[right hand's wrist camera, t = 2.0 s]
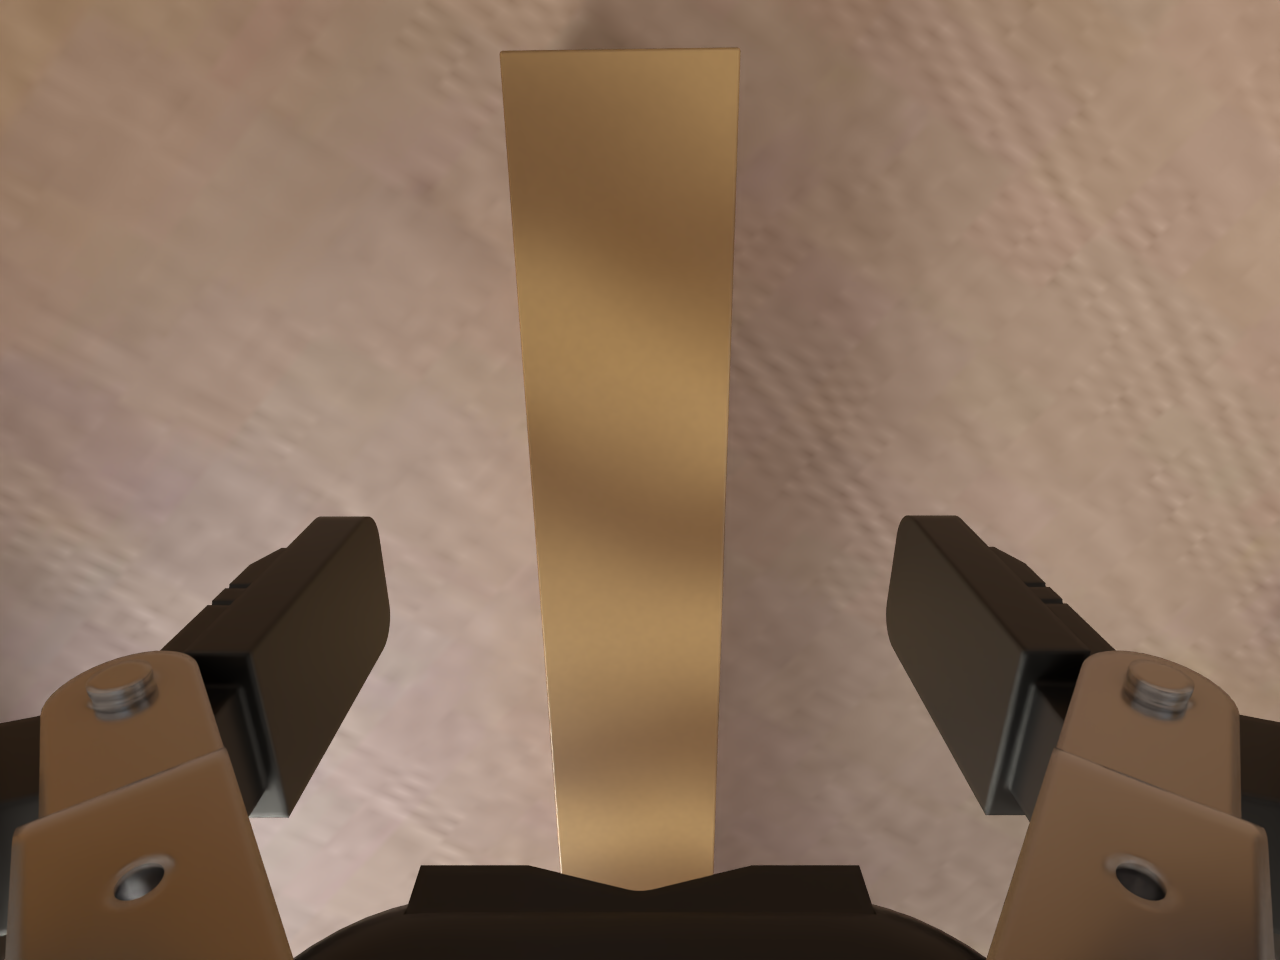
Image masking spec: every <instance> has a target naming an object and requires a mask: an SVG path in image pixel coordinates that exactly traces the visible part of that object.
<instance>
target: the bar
mask: <svg viewBox="0 0 1280 960" xmlns="http://www.w3.org/2000/svg"><path fill="white" fill-rule="evenodd" d="M500 65H501V78H502V92H503V105H504V119H505V132H506V146H507V159H508V173H509V186H510V199H511V213H512V226H513V240H514V253H515V267H516V280H517V294H518V307H519V320H520V334H521V347H522V361H523V374H524V388H525V401H526V415H527V428H528V442H529V455H530V468H531V482H532V495H533V509H534V522H535V536H536V549H537V563H538V576H539V589H540V603H541V616H542V630H543V643H544V657H545V670H546V684H547V697H548V710H549V724H550V737H551V751H552V764H553V778H554V791H555V805H556V818H557V831H558V845H559V858H560V872H561V873H562V874H566V875H570V876H574V877H578V878H583V879H587V880H591V881H595V882H599V883H603V884H607V885H612V886H616V887H620V888H624V889H628V890H634V891H646V890H652V889H656V888H660V887H664V886H668V885H673V884H677V883H681V882H685V881H689V880H693V879H697V878H702V877H706V876H710V875H713V870H714V840H715V809H716V779H717V748H718V718H719V688H720V657H721V627H722V596H723V566H724V536H725V505H726V475H727V444H728V414H729V384H730V353H731V323H732V292H733V262H734V232H735V201H736V171H737V140H738V110H739V80H740V48H738V47H736V48H668V49H599V50H531V51H501V52H500Z"/></svg>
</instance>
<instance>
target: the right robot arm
mask: <svg viewBox="0 0 1280 960" xmlns="http://www.w3.org/2000/svg"><path fill="white" fill-rule="evenodd" d="M229 585H230V586H229V588H225V589H224V590H223V591H222V592H221V593H220V594H219V595H218V596H217V597H216V598H215V599H214V600H213V601H212V605H207V606H206V607H205V608H204V609H203V610H202V611H201V612H200V613H199V614H198V615H197V616H196V617H195V618H194V619H193V620H192V621H191V622H189V623H188V624H187V625H186V626H185V627H184V628H183V629H182V630H181V631H180V632H179V633H178V634H177V635H176V636H175V637H174V638H173V639H172V640H171V641H170V642H168V643H167V644H166V645H165V646H164V647H163V648H162V649H161V650H160V651H150V652H142V653H137V654H132V655H128V656H124V657H121V658H117V659H114V660H111V661H108V662H105V663H103V664H101V665H98V666H96V667H93V668H91V669H89V670H87V671H85V672H83V673H81V674H80V675H78V676H76V677H75V678H73V679H71V680H70V681H68V682H67V683H65V684H64V685H63V686H61V687H60V688H59V689H58V690H57V691H55V692H54V693H53V694H52V695H51V696H50V698H49V699H48V700H47V701H46V703H45V704H44V706H43V708H42V711H41V716H37V717H32V718H26V719H21V720H16V721H11V722H5V723H0V960H1280V722H1275V721H1269V720H1264V719H1259V718H1254V717H1249V716H1243V715H1239V711H1238V708H1237V706H1236V704H1235V703H1234V701H1233V700H1232V699H1231V698H1230V696H1229V695H1228V694H1227V693H1226V692H1225V691H1223V690H1222V689H1221V688H1220V687H1219V686H1217V685H1216V684H1215V683H1213V682H1212V681H1210V680H1209V679H1207V678H1205V677H1204V676H1202V675H1200V674H1199V673H1197V672H1195V671H1193V670H1191V669H1189V668H1187V667H1184V666H1182V665H1179V664H1177V663H1175V662H1172V661H1169V660H1166V659H1163V658H1159V657H1156V656H1152V655H1148V654H1143V653H1138V652H1130V651H1116V650H1115V649H1113V648H1112V647H1111V646H1110V645H1109V644H1108V643H1107V642H1106V641H1105V640H1104V639H1103V638H1102V637H1101V636H1100V635H1099V634H1098V633H1097V632H1096V631H1095V630H1094V629H1093V628H1092V627H1091V626H1090V625H1089V624H1088V623H1086V622H1085V621H1084V620H1083V619H1082V618H1081V617H1080V616H1079V615H1078V614H1077V613H1076V612H1075V611H1074V610H1073V609H1072V608H1071V607H1070V606H1069V605H1068V604H1063V602H1062V598H1060V597H1059V596H1058V595H1057V594H1056V593H1055V592H1054V591H1053V590H1052V589H1051V588H1050V587H1046V586H1045V582H1044V581H1043V580H1042V579H1041V578H1040V577H1039V576H1038V575H1037V574H1036V573H1035V572H1033V571H1032V570H1031V569H1030V568H1029V567H1028V566H1027V565H1026V564H1025V563H1023V562H1021V561H1019V560H1018V559H1016V558H1014V557H1012V556H1010V555H1008V554H1006V553H1004V552H1003V551H1001V550H999V549H997V548H995V547H988V546H987V545H986V544H985V543H984V542H983V541H982V540H981V539H980V538H979V537H978V536H977V535H976V534H975V533H974V531H973V530H972V529H971V528H970V527H969V526H968V525H967V524H966V523H965V522H964V521H963V520H962V519H961V518H959V517H958V516H905V517H904V518H903V519H902V520H901V522H900V525H899V528H898V532H897V538H896V545H895V552H894V559H893V565H892V572H891V579H890V586H889V593H888V600H887V608H886V622H887V630H888V635H889V639H890V642H891V645H892V647H893V649H894V651H895V653H896V654H897V656H898V658H899V660H900V662H901V663H902V665H903V667H904V669H905V671H906V672H907V674H908V676H909V678H910V680H911V681H912V683H913V685H914V687H915V689H916V690H917V692H918V694H919V696H920V698H921V699H922V701H923V703H924V705H925V707H926V708H927V710H928V712H929V714H930V716H931V717H932V719H933V721H934V723H935V725H936V726H937V728H938V730H939V732H940V734H941V735H942V737H943V739H944V741H945V743H946V744H947V746H948V748H949V750H950V752H951V753H952V755H953V757H954V759H955V761H956V762H957V764H958V766H959V768H960V770H961V771H962V773H963V775H964V777H965V779H966V780H967V782H968V784H969V786H970V788H971V789H972V791H973V793H974V795H975V797H976V798H977V800H978V802H979V804H980V806H981V807H982V809H983V811H984V813H985V815H1026V817H1027V818H1028V820H1029V822H1030V824H1029V827H1028V830H1027V833H1026V836H1025V839H1024V843H1023V846H1022V849H1021V852H1020V855H1019V858H1018V861H1017V865H1016V868H1015V871H1014V874H1013V877H1012V880H1011V883H1010V887H1009V890H1008V893H1007V896H1006V899H1005V902H1004V905H1003V909H1002V912H1001V915H1000V918H999V921H998V924H997V928H996V931H995V934H994V937H993V940H992V943H991V946H990V950H989V953H988V956H987V958H985V957H984V956H982V955H981V954H979V953H978V952H977V951H975V950H974V949H972V948H971V947H969V946H968V945H966V944H964V943H963V942H961V941H959V940H957V939H956V938H954V937H952V936H950V935H949V934H947V933H945V932H943V931H942V930H940V929H938V928H935V927H933V926H931V925H929V924H927V923H924V922H922V921H920V920H918V919H916V918H914V917H911V916H908V915H905V914H902V913H899V912H896V911H894V910H891V909H888V908H884V907H880V906H877V905H873V904H872V903H871V900H870V897H869V894H868V891H867V888H866V885H865V882H864V879H863V876H862V873H861V870H860V867H859V865H751V866H747V867H743V868H739V869H735V870H731V871H726V872H722V873H718V874H714V875H710V876H706V877H702V878H697V879H693V880H689V881H685V882H681V883H677V884H673V885H668V886H664V887H660V888H656V889H652V890H646V891H634V890H628V889H624V888H620V887H616V886H612V885H607V884H603V883H599V882H595V881H591V880H587V879H583V878H578V877H574V876H570V875H566V874H562V873H558V872H554V871H549V870H545V869H541V868H537V867H533V866H529V865H421V867H420V870H419V873H418V876H417V879H416V882H415V885H414V888H413V891H412V894H411V897H410V900H409V904H407V905H404V906H400V907H396V908H392V909H389V910H386V911H384V912H381V913H378V914H375V915H372V916H369V917H366V918H364V919H362V920H360V921H358V922H356V923H353V924H351V925H349V926H347V927H345V928H342V929H340V930H338V931H337V932H335V933H333V934H331V935H330V936H328V937H326V938H324V939H323V940H321V941H319V942H317V943H316V944H314V945H312V946H311V947H309V948H308V949H306V950H305V951H303V952H302V953H301V954H299V955H298V956H296V957H295V958H293V956H292V953H291V950H290V946H289V943H288V940H287V937H286V934H285V931H284V928H283V924H282V921H281V918H280V915H279V912H278V909H277V905H276V902H275V899H274V896H273V893H272V890H271V887H270V883H269V880H268V877H267V874H266V871H265V868H264V865H263V861H262V858H261V855H260V852H259V849H258V846H257V843H256V839H255V836H254V833H253V830H252V827H251V824H250V820H249V818H289V816H290V814H291V812H292V811H293V809H294V807H295V805H296V803H297V802H298V800H299V798H300V796H301V795H302V793H303V791H304V789H305V787H306V786H307V784H308V782H309V780H310V779H311V777H312V775H313V773H314V771H315V770H316V768H317V766H318V764H319V763H320V761H321V759H322V757H323V755H324V754H325V752H326V750H327V748H328V747H329V745H330V743H331V741H332V739H333V738H334V736H335V734H336V732H337V731H338V729H339V727H340V725H341V723H342V722H343V720H344V718H345V716H346V715H347V713H348V711H349V709H350V708H351V706H352V704H353V702H354V700H355V699H356V697H357V695H358V693H359V692H360V690H361V688H362V686H363V684H364V683H365V681H366V679H367V677H368V676H369V674H370V672H371V670H372V668H373V667H374V665H375V663H376V661H377V660H378V658H379V656H380V654H381V652H382V651H383V649H384V647H385V644H386V641H387V637H388V633H389V626H390V607H389V599H388V593H387V586H386V579H385V572H384V566H383V559H382V552H381V546H380V539H379V533H378V529H377V526H376V523H375V521H374V520H373V519H372V518H371V517H318V518H316V519H315V520H314V521H313V522H312V523H311V524H310V525H309V526H308V527H307V528H306V529H305V530H304V531H303V532H302V533H301V534H300V535H299V536H298V537H297V538H296V539H295V540H294V541H293V542H292V543H291V544H290V545H289V546H288V547H287V548H281V549H279V550H277V551H275V552H273V553H271V554H269V555H268V556H266V557H264V558H262V559H260V560H258V561H256V562H254V563H252V564H251V565H249V566H248V567H247V568H246V569H245V570H244V571H243V572H242V573H241V574H240V575H239V576H238V577H237V578H236V579H235V580H234V581H232V582H231V583H230V584H229Z"/></svg>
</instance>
